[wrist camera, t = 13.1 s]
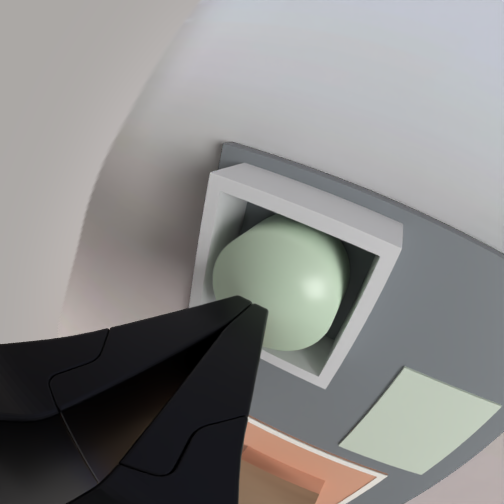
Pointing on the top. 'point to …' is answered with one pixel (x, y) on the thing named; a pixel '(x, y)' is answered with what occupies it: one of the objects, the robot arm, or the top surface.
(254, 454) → the stamp
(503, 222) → the top surface
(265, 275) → the button
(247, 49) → the top surface
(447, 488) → the top surface
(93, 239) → the top surface
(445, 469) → the picture board
